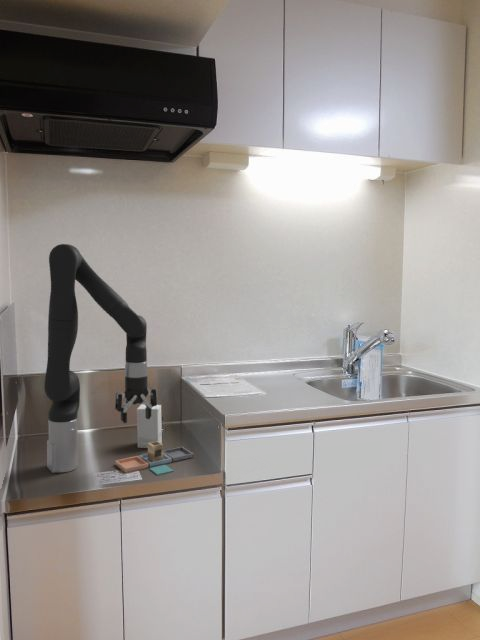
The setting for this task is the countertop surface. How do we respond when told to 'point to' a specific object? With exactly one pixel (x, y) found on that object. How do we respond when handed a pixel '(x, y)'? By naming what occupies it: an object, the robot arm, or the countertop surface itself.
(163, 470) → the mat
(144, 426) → the skincare box
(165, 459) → the dish slate
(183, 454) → the dish charcoal
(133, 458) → the dish terracotta
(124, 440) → the countertop surface
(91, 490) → the countertop surface
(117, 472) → the countertop surface
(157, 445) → the letter block
